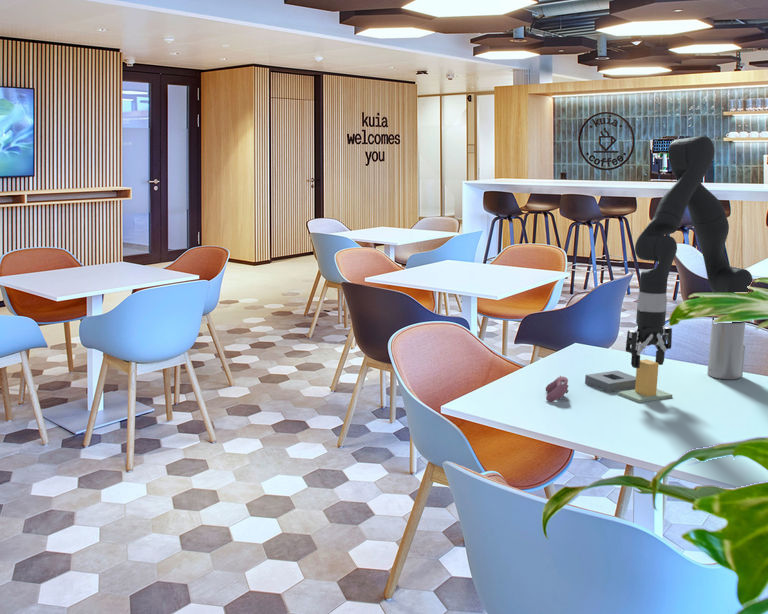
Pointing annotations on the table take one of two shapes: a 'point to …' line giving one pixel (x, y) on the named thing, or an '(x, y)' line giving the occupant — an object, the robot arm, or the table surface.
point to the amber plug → (646, 378)
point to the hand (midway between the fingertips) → (647, 366)
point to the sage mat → (642, 398)
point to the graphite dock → (611, 381)
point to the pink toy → (557, 389)
